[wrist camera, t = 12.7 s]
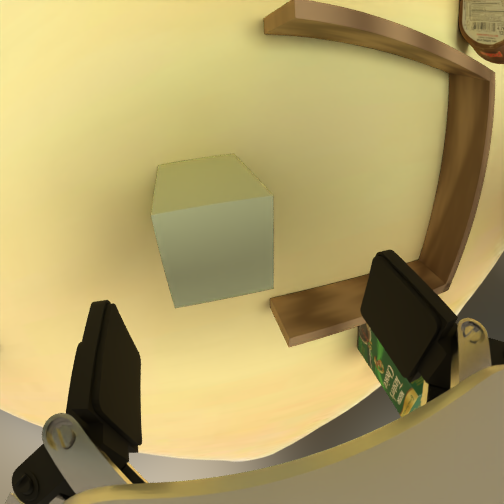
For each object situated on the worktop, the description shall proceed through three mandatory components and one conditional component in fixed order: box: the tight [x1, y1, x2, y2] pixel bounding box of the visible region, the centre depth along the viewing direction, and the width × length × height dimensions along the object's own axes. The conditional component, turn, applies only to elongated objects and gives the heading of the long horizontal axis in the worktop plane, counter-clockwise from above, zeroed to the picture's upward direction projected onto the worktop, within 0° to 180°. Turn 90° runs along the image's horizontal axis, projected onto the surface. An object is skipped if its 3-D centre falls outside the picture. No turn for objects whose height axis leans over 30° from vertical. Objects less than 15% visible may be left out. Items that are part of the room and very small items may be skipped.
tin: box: [459, 0, 504, 64], centre depth 10 cm, size 15×3×8 cm, turn 166°
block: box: [151, 154, 274, 308], centre depth 16 cm, size 5×5×8 cm
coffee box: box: [358, 323, 424, 417], centre depth 28 cm, size 8×3×13 cm, turn 15°
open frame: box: [264, 0, 495, 347], centre depth 20 cm, size 20×24×5 cm
